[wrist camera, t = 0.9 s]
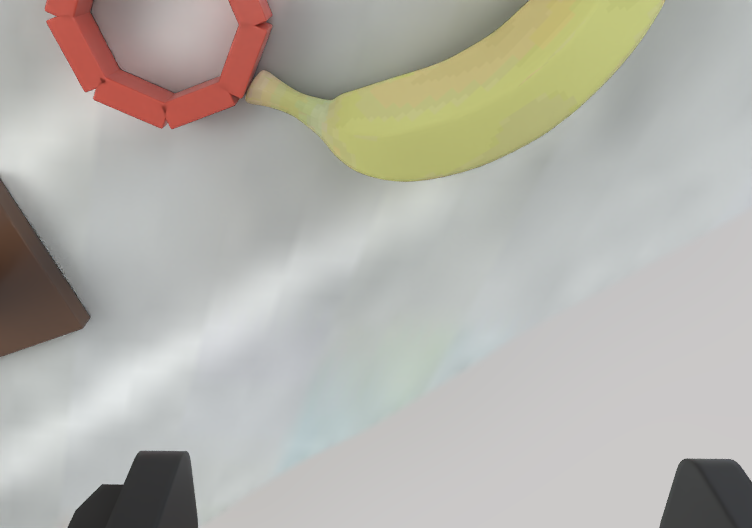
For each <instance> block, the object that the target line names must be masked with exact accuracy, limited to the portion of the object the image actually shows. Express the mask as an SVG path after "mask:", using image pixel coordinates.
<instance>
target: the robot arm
mask: <svg viewBox="0 0 752 528" xmlns="http://www.w3.org/2000/svg"><path fill="white" fill-rule="evenodd" d="M68 528H198V518H197V509H196V501H195V493H194V485H193V477H192V468H191V461H190V456H189V453H188V452H187V451H140V452H139V453H138V454H137V455H136V457H135V459H134V461H133V464H132V466H131V468H130V471H129V473H128V475H127V478H126V480H125V483H124V485H109V484H102V485H101V486H100V487H99V488H98V489H97V490H96V491H95V492H94V493H93V494H92V495H91V496H90V497H89V498H88V499H87V500H86V501H85V502H84V503H83V504H82V505H81V506H80V507H79V508H78V509H77V510H76V511H75V513H74V515H73V517H72V519H71V521H70V523H69V526H68ZM660 528H752V482H751V480H750V479H749V477H748V476H747V475H746V473H745V472H744V470H743V469H742V468H741V466H740V465H739V464H738V463H737V462H735V461H734V460H731V459H684V460H682V461H681V462H680V464H679V465H678V468H677V471H676V474H675V477H674V480H673V484H672V487H671V491H670V494H669V497H668V500H667V503H666V507H665V510H664V513H663V516H662V520H661V523H660Z"/></svg>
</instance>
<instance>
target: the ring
mask: <svg viewBox="0 0 752 528" xmlns="http://www.w3.org/2000/svg"><path fill="white" fill-rule="evenodd" d="M228 1H229V3H230V5H231V8H232V10H233V12H234V15H235V17H236V19H237V21H238V24H239V26H238V29H237V31H236V34H235V37H234V40H233V42H232V45H231V48H230V51H229V54H228V56H227V59H226V62H225V65H224V67H223V70H222V73H221V76H219V77H216V78H214V79H211V80H208V81H206V82H203V83H201V84H198V85H196V86H193V87H190V88H188V89H185V90H183V91H180V92H177V93H173V92H171V91H168V90H166V89H164V88H161V87H159V86H157V85H155V84H152V83H150V82H148V81H145V80H143V79H141V78H139V77H136V76H134V75H132V74H130V73H127V72H125V71H123V70H120V69H119V67H118V65H117V63H116V61H115V59H114V57H113V55H112V53H111V51H110V49H109V47H108V45H107V44H106V42H105V40H104V38H103V36H102V34H101V32H100V30H99V28H98V26H97V24H96V22H95V21H94V19H93V17H92V15H91V13H90V10H91V7H92V3H93V0H47V2H46V6H45V11H46V12H48V13H51V14H53V15H55V16H57V17H54V18H52V19H50V20H47V21H46V22H47V24H48V26H49V28H50V30H51V32H52V33H53V35H54V37H55V39H56V41H57V42H58V44H59V46H60V48H61V50H62V51H63V53H64V55H65V57H66V59H67V61H68V62H69V64H70V66H71V68H72V70H73V71H74V73H75V75H76V77H77V79H78V80H79V82H80V84H81V86H82V88H83V90H84V91H85V92H88V91H91V90H93V89H96V90H95V94H94V97H93V99H94V100H95V101H98V102H100V103H102V104H105V105H107V106H109V107H112V108H114V109H117V110H119V111H121V112H124V113H126V114H128V115H131V116H133V117H135V118H138V119H140V120H142V121H145V122H147V123H149V124H152V125H154V126H156V127H159V128H161V129H162V128H163V127H164V126H165V125H166V124H167V123H168V124H169V126H170V128H171V129H174V128H177V127H180V126H182V125H185V124H187V123H190V122H193V121H195V120H198V119H201V118H203V117H206V116H209V115H211V114H214V113H217V112H219V111H222V110H225V109H227V108H230V107H232V106H235V105H236V103H237V102H238V100H239V99H240V98H242V97H243V96H244V95H245V93H246V92H247V91H248V88H249V86H250V84H251V82H252V79H253V76H254V74H255V71H256V68H257V66H258V63H259V61H260V58H261V55H262V53H263V50H264V47H265V45H266V42H267V40H268V37H269V34H270V32H271V29H272V25H271V24H269V23H267V22H266V21H267V20H268V19H269V18H270V17H271V16H272V13H271V10H270V8H269V5H268V3H267V0H228Z"/></svg>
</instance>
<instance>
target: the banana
mask: <svg viewBox="0 0 752 528" xmlns="http://www.w3.org/2000/svg"><path fill="white" fill-rule="evenodd" d="M664 2H665V0H529V1H528V2H527V3H526V4H525V5H524V6H523V7H522V8H520V9H519V10H518V11H517V12H516V13H515V14H514V15H513V16H512V17H511V18H510V19H509V20H508V21H507V22H505V23H504V24H503V25H502V26H501V27H499V28H498V29H497V30H496V31H494V32H493V33H492V34H490V35H489V36H487V37H486V38H484V39H482V40H481V41H479V42H478V43H476V44H474V45H472V46H471V47H469V48H467V49H465V50H464V51H462V52H460V53H458V54H457V55H455V56H453V57H451V58H449V59H446V60H444V61H442V62H440V63H437V64H434V65H432V66H429V67H426V68H423V69H420V70H416V71H413V72H410V73H407V74H403V75H400V76H397V77H394V78H390V79H387V80H384V81H381V82H377V83H374V84H371V85H368V86H365V87H362V88H359V89H356V90H353V91H349V92H346V93H343V94H341V95H339V96H338V97H336V98H335V99H333V100H325V99H320V98H316V97H312V96H309V95H305V94H302V93H300V92H298V91H296V90H294V89H293V88H291V87H289V86H288V85H286V84H285V83H283V82H282V81H280V80H279V79H278V78H276V77H275V76H274V75H272V74H271V73H270V72H268V71H266V70H263V71H261V72H259V73H258V75H257V76H256V77H255V78H254V80H253V81H252V83H251V84H250V86H249V88H248V91H247V94H246V97H245V100H246V102H247V103H250V104H255V105H262V106H267V107H271V108H274V109H277V110H281V111H283V112H286V113H288V114H290V115H292V116H294V117H296V118H297V119H298V120H300V121H301V122H302V123H304V124H305V125H306V126H308V127H309V128H310V129H311V130H313V131H314V132H315V133H316V134H317V135H318V136H319V137H320V138H321V139H322V140H323V141H324V142H325V144H326V145H327V146H328V147H329V149H330V150H331V151H332V152H333V153H334V155H335V156H336V157H337V158H338V159H339V160H341V161H342V162H343V163H344V164H346V165H347V166H348V167H350V168H352V169H353V170H355V171H357V172H359V173H362V174H365V175H368V176H371V177H375V178H379V179H384V180H390V181H403V182H409V181H422V180H429V179H435V178H440V177H445V176H449V175H453V174H457V173H461V172H465V171H468V170H471V169H474V168H477V167H480V166H482V165H485V164H487V163H490V162H492V161H495V160H497V159H499V158H501V157H503V156H505V155H507V154H509V153H512V152H514V151H515V150H517V149H519V148H521V147H523V146H525V145H527V144H529V143H531V142H532V141H534V140H536V139H537V138H539V137H541V136H542V135H544V134H545V133H547V132H548V131H550V130H551V129H553V128H554V127H555V126H557V125H558V124H559V123H561V122H562V121H563V120H565V119H566V118H567V117H568V116H570V115H571V114H572V113H573V112H575V111H576V110H577V109H578V108H579V107H580V106H581V105H583V104H584V103H585V102H586V101H587V100H588V99H589V98H590V97H591V96H592V95H593V94H594V93H595V92H596V91H597V90H599V89H600V88H601V87H602V86H603V85H604V83H605V82H606V81H607V80H608V79H609V78H610V77H611V76H612V75H613V74H614V73H615V72H616V71H617V70H618V69H619V67H620V66H621V65H622V64H623V63H624V62H625V60H626V59H627V58H628V57H629V56H630V54H631V53H632V52H633V50H634V49H635V48H636V47H637V45H638V44H639V43H640V41H641V40H642V38H643V37H644V36H645V34H646V32H647V31H648V29H649V28H650V26H651V25H652V23H653V22H654V20H655V18H656V17H657V15H658V13H659V12H660V10H661V8H662V6H663V4H664Z"/></svg>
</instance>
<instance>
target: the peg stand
mask: <svg viewBox="0 0 752 528" xmlns="http://www.w3.org/2000/svg"><path fill="white" fill-rule="evenodd" d="M89 319H90V316H89V315H88V313H87V312H86V310H85V309H84V307H83V306H82V304H81V302H80V301H79V299H78V298H77V296H76V295H75V293H74V292H73V290H72V289H71V287H70V286H69V284H68V283H67V281H66V279H65V278H64V276H63V275H62V273H61V272H60V270H59V269H58V267H57V266H56V264H55V263H54V261H53V259H52V258H51V256H50V255H49V253H48V252H47V250H46V249H45V247H44V246H43V244H42V243H41V241H40V240H39V238H38V236H37V235H36V233H35V232H34V230H33V229H32V227H31V226H30V224H29V223H28V221H27V220H26V218H25V217H24V215H23V213H22V212H21V210H20V209H19V207H18V206H17V204H16V203H15V201H14V200H13V198H12V197H11V195H10V193H9V192H8V190H7V189H6V187H5V186H4V184H3V183H2V181H1V180H0V357H2V356H5V355H8V354H11V353H13V352H16V351H19V350H22V349H25V348H28V347H31V346H34V345H37V344H39V343H42V342H45V341H48V340H51V339H54V338H57V337H60V336H63V335H66V334H68V333H71V332H74V331H77V330H80V329H82V328H83V327H84V326H85V324H86V323H87V322H88V320H89Z"/></svg>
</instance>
